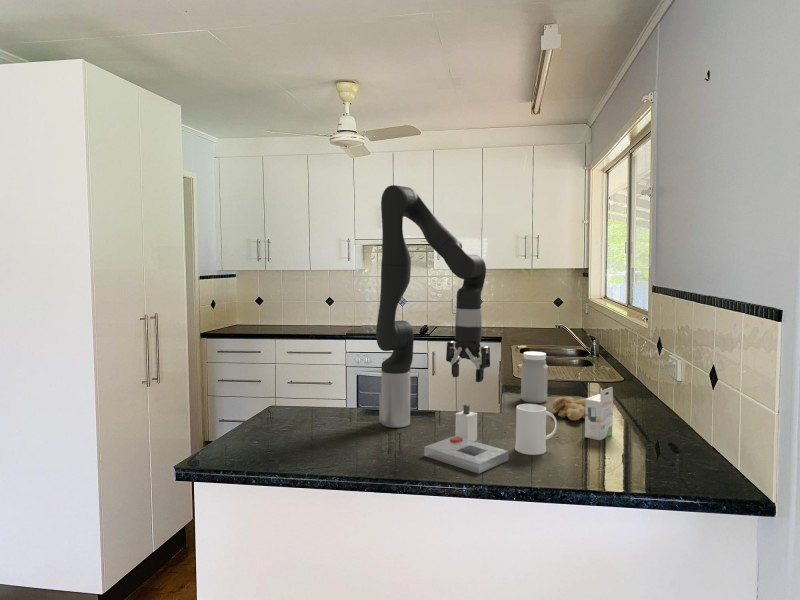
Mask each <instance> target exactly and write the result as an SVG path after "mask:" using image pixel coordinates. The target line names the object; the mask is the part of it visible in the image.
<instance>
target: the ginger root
mask: <svg viewBox="0 0 800 600" xmlns="http://www.w3.org/2000/svg"><path fill="white" fill-rule="evenodd" d="M587 398H588V397H585V398H579V399H576V400H575V399H574V397H572V396H562V397H558V398H556V399H554V400H553V403H552V409H553V410H554V411H557V412H558V414H557V415H558V417H560V418H563V419H564V418H566V417H567V418H568V419H569V420H570V421H578V420H580V419H585V399H587Z"/></svg>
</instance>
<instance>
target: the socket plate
mask: <svg viewBox="0 0 800 600" xmlns="http://www.w3.org/2000/svg"><path fill="white" fill-rule="evenodd" d="M423 448H424V449H423V451H424V454H423V455H424V457H426V458H430V459H433V460H436V461H438V462H442V463H445V464H448V465H451V466H454V467H456V468H459V469H460V468H461V469H463V470H466V471H469V472H472V473H475V474H481V473H483V472H486V471H488V470H490V469H492V468H495V467H496V466H499V465H501V464H503V463H505V462H507V461H509V450H506V449H503V448H499V447H495V446H493V445H489V444H485V443H481V442H478V441H471V440H468V439H464V438H460V437H457V436H455V435H452V436H451V437H448V438H445V439H442V440H439V441H437V442H434V443H431V444H429V445H425V446H424V447H423Z"/></svg>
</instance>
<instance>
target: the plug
mask: <svg viewBox="0 0 800 600" xmlns="http://www.w3.org/2000/svg"><path fill="white" fill-rule="evenodd" d="M462 407H463V408H462V409H463V410H461V411H459V412H455V430H454V431H455V432H454V433H455V435H454V436H457V437H460V438H464V439H468V440H471V441H475V442H477V441H478V413H477V412H472V411H470V407H471V406H470V404H465V403H464V404H463V406H462Z"/></svg>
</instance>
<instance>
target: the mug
mask: <svg viewBox="0 0 800 600" xmlns="http://www.w3.org/2000/svg"><path fill="white" fill-rule="evenodd" d="M515 411H516V412H515V415H516V416H515V445H514V450H515V451H516V452H517V453H520V454H523V455H531V456H538V455H543V454H545V453H546V452H547V448H546V447H547V446H546V445H547V443H546V441H547V440H549V439H550V438H552V437H553V436H554V435H555V433H556V432H557V430H558V429H557V428H558V421H557V418H556V416H554V414H553V413H552V412H550V411H547V407H546V406H543V405H541V404H537V403H523V404H522V403H520V404H518V405H516V408H515ZM547 416H549V417H551V418H552V419H553V420H554V429H553V431H552V432H551V433H549V434H547V433H546V432H547V431H546V430H547ZM546 434H547V435H546Z"/></svg>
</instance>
